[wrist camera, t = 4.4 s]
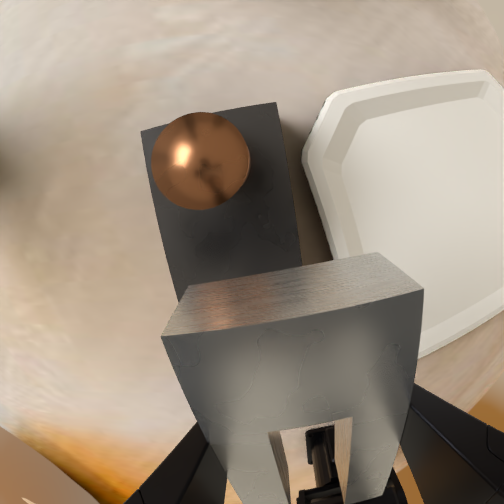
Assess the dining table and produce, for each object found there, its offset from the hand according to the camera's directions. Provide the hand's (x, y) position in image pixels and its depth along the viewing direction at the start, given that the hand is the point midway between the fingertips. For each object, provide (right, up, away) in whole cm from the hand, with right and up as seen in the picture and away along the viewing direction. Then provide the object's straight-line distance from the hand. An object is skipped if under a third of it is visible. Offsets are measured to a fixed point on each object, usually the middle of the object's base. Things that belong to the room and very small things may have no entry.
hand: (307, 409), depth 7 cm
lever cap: (0, 0, +1) cm, 1 cm away
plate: (+13, +7, +11) cm, 19 cm away
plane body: (-2, +3, +12) cm, 13 cm away
